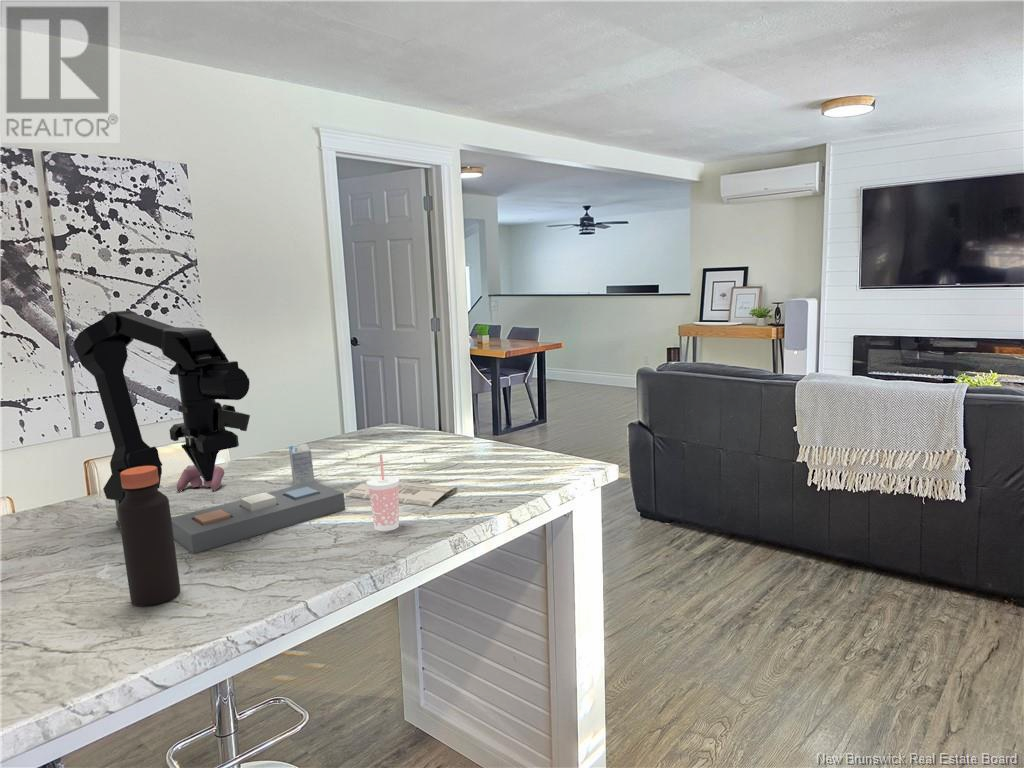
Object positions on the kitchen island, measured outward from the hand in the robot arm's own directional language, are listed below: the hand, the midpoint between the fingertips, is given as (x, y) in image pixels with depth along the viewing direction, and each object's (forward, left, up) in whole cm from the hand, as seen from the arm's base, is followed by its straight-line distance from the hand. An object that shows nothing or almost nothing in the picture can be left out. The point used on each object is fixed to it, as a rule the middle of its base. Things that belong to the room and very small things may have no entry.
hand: (208, 480), depth 129 cm
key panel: (+9, 0, -11) cm, 14 cm away
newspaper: (+38, -7, -12) cm, 40 cm away
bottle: (-16, -20, -11) cm, 28 cm away
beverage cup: (+24, -22, -11) cm, 34 cm away
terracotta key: (0, 0, -10) cm, 10 cm away
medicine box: (+27, +18, -11) cm, 34 cm away
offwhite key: (+9, 0, -9) cm, 12 cm away
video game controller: (+10, +35, -11) cm, 38 cm away
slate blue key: (+18, 0, -10) cm, 20 cm away
